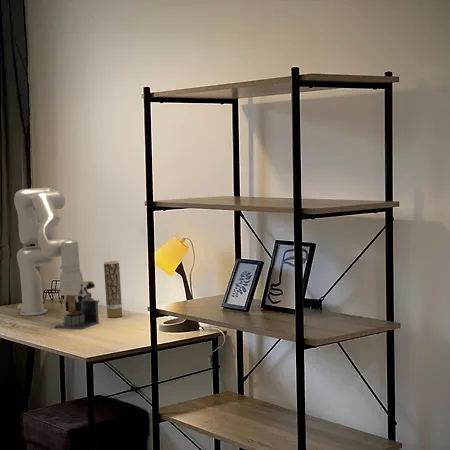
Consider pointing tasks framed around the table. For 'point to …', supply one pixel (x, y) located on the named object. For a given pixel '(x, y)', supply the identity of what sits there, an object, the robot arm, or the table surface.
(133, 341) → the table surface
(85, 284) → the figurine
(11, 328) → the table surface
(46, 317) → the table surface
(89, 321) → the bracket
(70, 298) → the brown wooden cylinder
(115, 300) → the paper tube
